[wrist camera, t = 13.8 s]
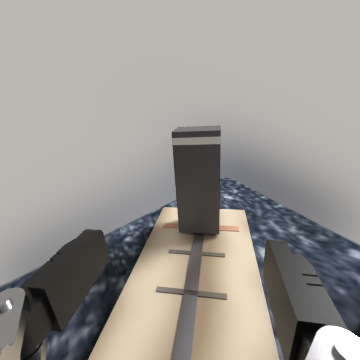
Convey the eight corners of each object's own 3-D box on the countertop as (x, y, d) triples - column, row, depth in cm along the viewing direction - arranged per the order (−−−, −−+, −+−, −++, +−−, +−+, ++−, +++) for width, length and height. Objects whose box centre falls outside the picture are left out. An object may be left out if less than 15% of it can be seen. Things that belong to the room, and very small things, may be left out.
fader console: (57, 482, 9) (38, 456, 8) (165, 223, 27) (163, 206, 26) (307, 562, 7) (322, 541, 6) (243, 227, 25) (244, 209, 24)
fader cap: (178, 232, 21) (171, 132, 17) (183, 216, 23) (177, 127, 20) (219, 234, 20) (220, 130, 16) (219, 217, 23) (220, 125, 19)
